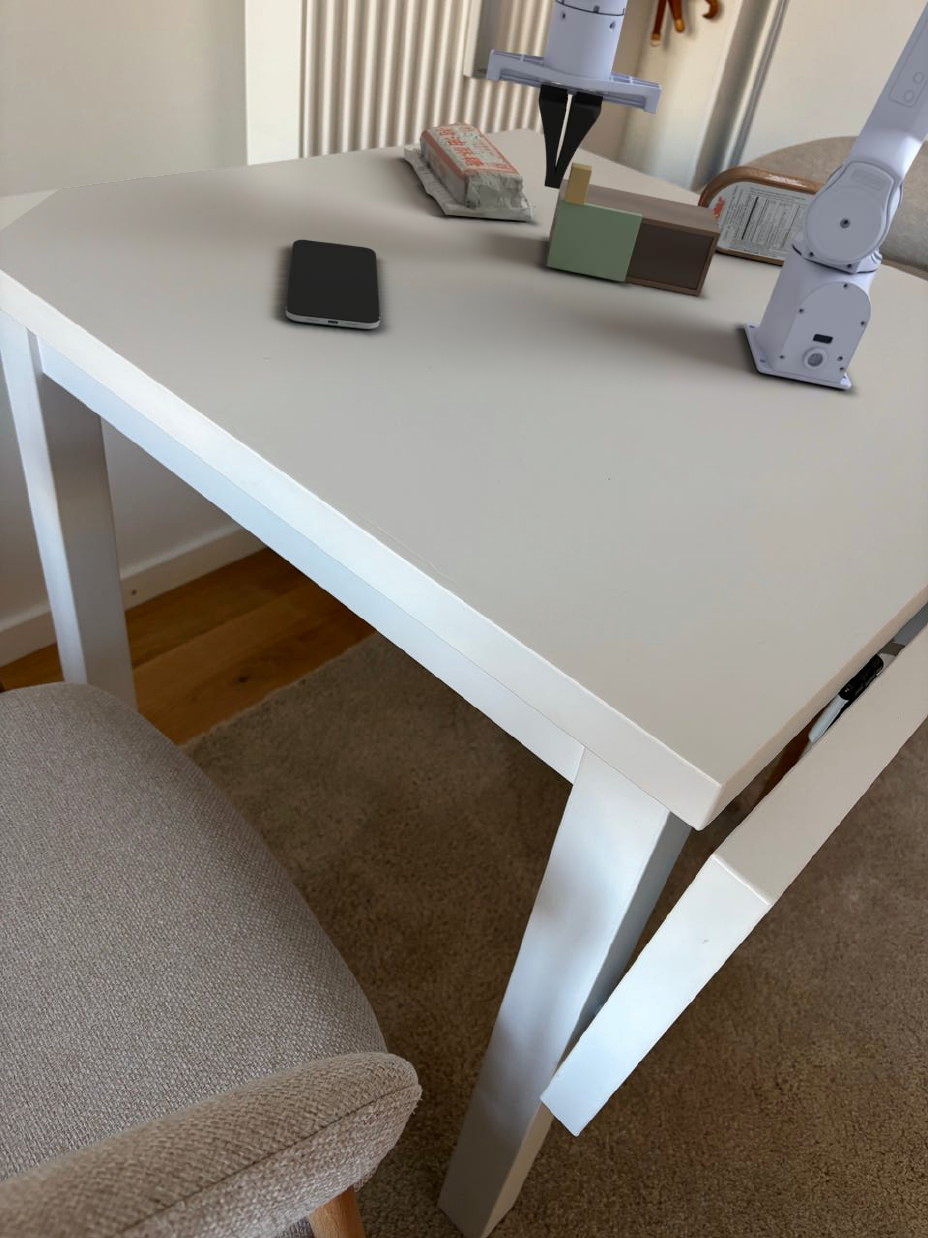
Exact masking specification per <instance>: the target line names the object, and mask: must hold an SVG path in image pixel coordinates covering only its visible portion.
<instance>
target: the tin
mask: <svg viewBox="0 0 928 1238" xmlns="http://www.w3.org/2000/svg"><path fill="white" fill-rule="evenodd" d="M824 185H825V183H823V182H822V181H818V180H814V179H809V178H805V177H800V176H795V175H791V174H787V173H782V172H777V171H773V170H769V169H765V168H760V167H756V166H751V165H738V166H733V167H730V168H728V169H725V170H723V171H721V172H720V173H718V174H716V175H715V176H714V177H713V178H712V179H710V181H709V182H708V183H707V184H706V186H705V187H704V188H703V189H702V191H701V194H700V196H699V199H698V202H697V206H700V207H705V208H710V209H713V211H714V214H715V217H716V220H717V223H718V226H719V230H720V233H721V234H720V237H719V240H718V243H717V246H716V249H715V251H718V252H719V253H723V254H727V255H731V256H736V257H741V258H746V259H749V260H751V259H752V260H754V261H755V260H756V261H760V262H765V263H769V264H775V265H778V266H783V264H784V261H785V258H786V256H787V253H788V251H789V248H790V246H791V243H792V241H793V238H794V235H795V234H797V233H799V232H802V231H803V218H804V214H805V211H806V208H807V206H808V204H809V202H810V201H811V199H812V198H813V196H814V195H815V194H816V193H817V192H818V191H819V190H820V189H821V188H823V186H824Z"/></svg>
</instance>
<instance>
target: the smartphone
mask: <svg viewBox="0 0 928 1238" xmlns="http://www.w3.org/2000/svg"><path fill="white" fill-rule="evenodd" d="M291 249H292V250H291V252H290V253H291V257H290V264H289V277H288V285H287V294H286V295H287V296H286V303H285V316H286V317H287V319H289V320H291V321H294V322H298V323H306V324H307V323H308V324H316V325H318V324H319V325H326V326H335V327H344V328H353V329H362V330H373V329H376V328H378V327H379V326H380V323H381V315H380V300H379V282H378V280H379V279H378V276H379V275H378V265H377V253H376V251H375V250H373V249H372V248H370V247H365V246H358V245H350V244H343V243H334V242H327V241H326V242H325V241H318V240H311V239H297V240H294V241H293V243H292V248H291Z"/></svg>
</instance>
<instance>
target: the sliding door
mask: <svg viewBox="0 0 928 1238" xmlns="http://www.w3.org/2000/svg"><path fill="white" fill-rule="evenodd" d="M570 166H571V167H570V171H569V175H568V178H567V180H568V184H567V188H566V193H565V199H564V198H561V201H560V206H559V210H558V215H557V219H556V224H555V228H554V233H553V237H552V242H551V247H550V251H549V256H548V260H547V259H546V262H547V266H546V267H548V268H552V269H558V270H562V271H563V270H564V271H567V272H573V273H578V274H584V275H587V276H592V277H598V278H602V279H608V280H612V281H618V282H622V283H624V282H625V281H624V280H625V277H626V273H627V270H628V266H629V262H630V259H631V255H632V252H633V248H634V244H635V241H636V237H637V234H638V230H639V226H640V223H641V219H642V214H638V213H633V212H628V211H623V210H618V209H613V208H608V207H603V206H598V205H593V204H588V203H585V199H586V195H587V190H588V186H589V184H590V181H591V177H592V173H593V166H592V165H588V164H582V163H577V162H573V161H572V162H571V165H570Z"/></svg>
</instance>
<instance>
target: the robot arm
mask: <svg viewBox="0 0 928 1238" xmlns="http://www.w3.org/2000/svg"><path fill="white" fill-rule="evenodd" d="M627 6H628V0H554V2H553V7H552V12H551V17H550V23H549V28H548V33H547V39H546V45H545V50H544V55H543V56H539V55H533V54H532V55H531V54H525V53H516V52H509V51H505V50H497V49H491V50H490V53H489V58H488V64H487V69H486V76H485V78H486V81H491V82H500V81H502V82H507V83H512V84H516V85H522V86H525V87H531V88H535V89H539V93H538V99H537V100H538V101H537V102H538V103H537V104H538V109H539V113H540V119H541V124H542V130H543V131H542V132H543V137H544V147H545V178H544V187H546V188H551V189H557V190H559V189H560V186H561V183H562V180H563V179H564V177H565V174H566V172H567V170H568V168H569V165H570V163H571V161H572V160H573V158H574V156H575V154H576V152H577V151H578V149H579V147H580V145H581V144H582V142H583V140H584V139H585V138H586V136H587V134H588V133H589V131H590V130H591V129H592V127H593V126H594V125H595V123H596V122H597V120H598V119H599V117H600V115H601V112H602V108H603V107H602V106H603V102H604V103H609V104H612V105H613V104H614V105H619V106H623V107H627V108H628V107H629V108H633V109H638V110H642V111H643V112H644V113H649V114H652V115H656V114H657V111H658V107H659V105H660V104H659V103H660V100H661V96H662V92H663V86H662V84H661V83H658V82H655V81H649V80H646V79H641V78H637V77H634V76H631V75H627V74H624V73H619V72H617V71H613V65H614V62H615V57H616V54H617V53H616V52H617V48H618V45H619V40H620V35H621V31H622V27H623V23H624V18H625V13H626V9H627ZM569 95H570V96H571V100H570V105H569V111H568V115H567V110H568V109H567V108H568V102H569ZM566 115H567V120H566V125H565V129H564V135H563V140H562V144H561V147H560V142H561V137H562V133H563V128H564V124H565V119H566ZM927 136H928V1H927V2H926V4H925V6H924V8H923V10H922V12H921V13H920V16H919V17H918V20H917V22H916V23H915V26H914V28H913V29H912V31H911V34H910V35H909V38H908V39H907V41H906V43H905V45H904V47H903V49H902V51H901V53H900V55H899V57H898V59H897V61H896V63H895V64H894V67H893V69H892V71H891V72H890V74H889V76H888V78H887V81H886V83H885V84H884V86H883V88H882V90H881V92H880V94H879V95H878V98H877V100H876V102H875V104H874V106H873V108H872V110H871V111H870V114H869V115H868V117H867V120H866V121H865V123H864V125H863V126H862V128H861V130H860V132H859V134H858V136H857V138H856V139H855V141H854V143H853V144H852V145H851V146H852V147H851V148H850V150H849V152H848V154H847V155H846V158H845V159H844V161H843V163H841V164H840V165H839V166H837V167H836V168H835V169H834V170H833V171H832V172H831V173H830V174H829V176H828V178H827V179H826V181H825V183H824V184H825V185H824V186H823V188H821V189H820V190H819V191H818V192H817V193H816V194H815V195H814V196H813V198H812V199H811V201H810V202H809V204H808V206H807V208H806V211H805V214H804V218H803V231H802V232H799V233H797V234H795V235H794V238H793V241H792V243H791V246H790V248H789V251H788V253H787V256H786V258H785V261H784V264H783V265H781V266H782V267H781V269H780V272H779V274H778V277H777V279H776V281H775V284H774V287H773V289H772V292H771V294H770V297H769V300H768V301H767V302H768V303H767V304H766V308H765V310H764V312H763V315H762V317H761V320H760V323H756V322H749V321H747V322H745V324H744V327H743V328H744V331H745V334H746V338H747V340H748V344H749V347H750V351H751V353H752V357H753V360H754V364H755V365H756V366H755V367H756V369H757V371H758V372H760V373H762V374H766V375H770V376H771V375H772V376H776V377H780V378H781V377H782V378H786V379H791V380H792V379H793V380H796V381H802V382H807V383H811V384H817V385H822V386H828V387H831V388H832V387H833V388H836V389H837V388H838V389H841V390H849V389H851V386H852V383H851V381H850V378H849V376H848V374H847V370H848V367H849V365H850V364H851V361H852V359H853V357H854V356H855V353H856V351H857V349H858V347H859V344H860V342H861V340H862V338H863V336H864V334H865V331H866V329H867V327H868V325H869V322H870V320H871V316H872V302H871V298H870V297H871V296H870V288H871V285H872V283H873V281H874V279H875V277H876V275H877V272H878V270H879V267H880V266H881V263H882V260H883V255H882V254H881V253H880V249H879V248H880V246H881V245H882V244H883V242H884V241H885V239H886V238H887V235H888V233H889V232H890V231H889V230H890V228H891V223H892V221H893V220H894V218H895V217H896V215H897V213H898V212H899V210H900V207H901V204H902V200H903V195H904V194H903V193H904V192H903V191H904V182H905V181H904V180H905V177H906V175H907V173H908V172H909V169H910V168H911V166H912V164H913V162H914V160H915V158H916V157H917V155H918V153H919V151H920V149H921V148H922V145H924V142H925V140H926V138H927ZM559 147H560V150H559ZM558 151H559V152H558ZM558 153H559V154H558Z"/></svg>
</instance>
